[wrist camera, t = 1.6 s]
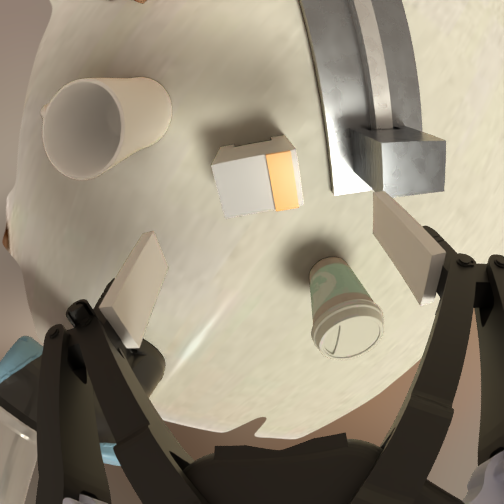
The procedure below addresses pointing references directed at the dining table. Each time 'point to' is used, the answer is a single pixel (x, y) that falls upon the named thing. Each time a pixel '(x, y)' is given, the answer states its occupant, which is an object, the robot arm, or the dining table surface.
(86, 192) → the dining table surface
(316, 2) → the rail board
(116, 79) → the mug
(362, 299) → the coffee cup
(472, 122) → the dining table surface
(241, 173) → the module
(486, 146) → the dining table surface
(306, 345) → the dining table surface
